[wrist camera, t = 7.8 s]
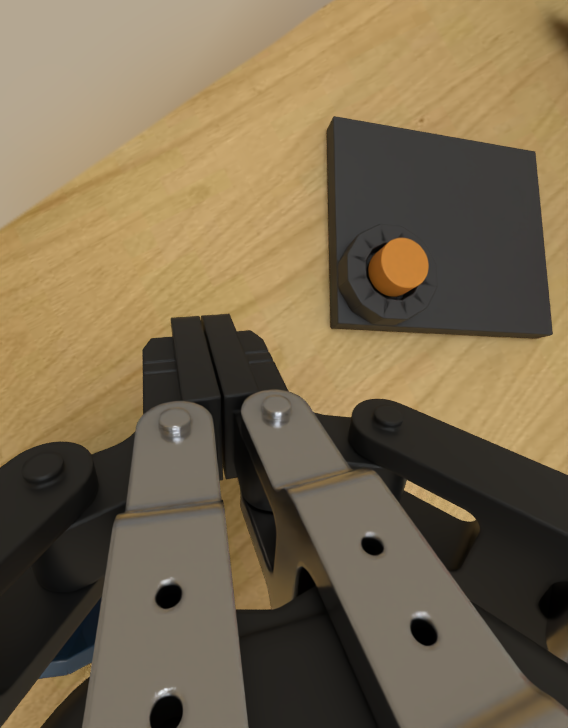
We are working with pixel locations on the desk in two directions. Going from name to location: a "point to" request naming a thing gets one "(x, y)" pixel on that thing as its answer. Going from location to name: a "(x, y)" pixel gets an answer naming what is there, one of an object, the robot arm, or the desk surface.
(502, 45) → the desk surface
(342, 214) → the scale
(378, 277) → the button
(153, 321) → the desk surface
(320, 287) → the desk surface
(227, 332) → the robot arm
